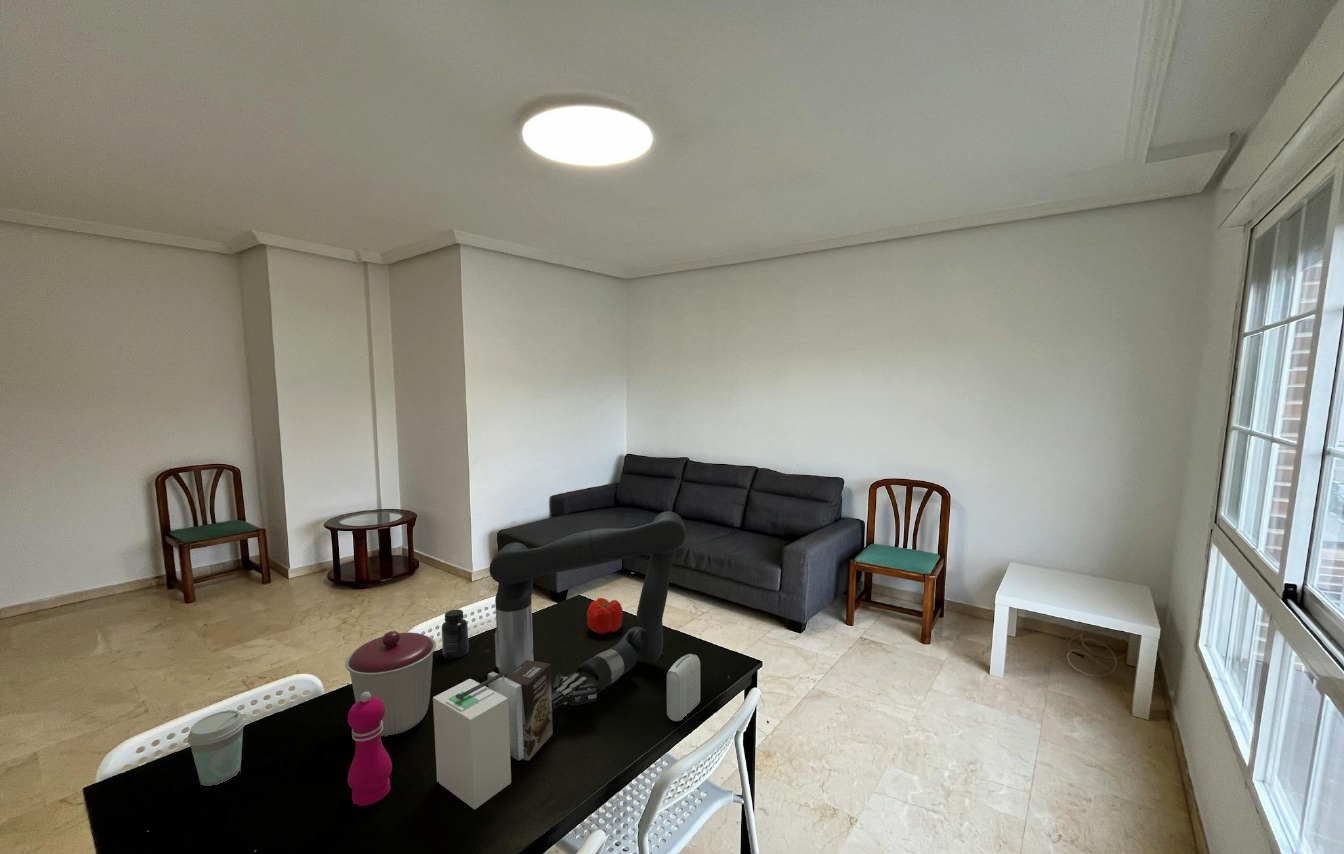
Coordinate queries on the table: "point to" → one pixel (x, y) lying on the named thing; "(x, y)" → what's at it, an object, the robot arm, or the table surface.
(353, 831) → the table surface
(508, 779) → the gauge housing
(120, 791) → the table surface
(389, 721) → the canister
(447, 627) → the supplement bottle
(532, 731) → the coffee box
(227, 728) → the coffee cup
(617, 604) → the red bell pepper
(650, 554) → the robot arm
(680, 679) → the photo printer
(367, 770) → the pepper mill
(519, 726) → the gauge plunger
